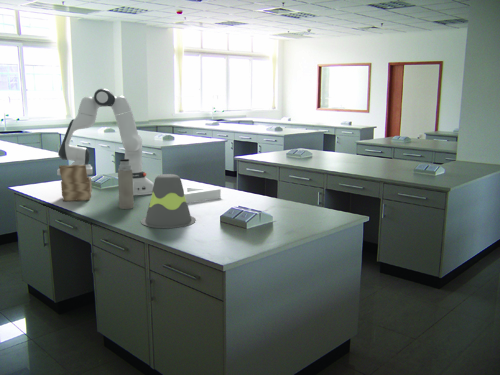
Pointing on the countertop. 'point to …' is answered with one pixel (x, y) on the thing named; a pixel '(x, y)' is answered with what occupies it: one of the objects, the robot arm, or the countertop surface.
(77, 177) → the carton flap
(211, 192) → the triangular ruler
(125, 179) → the thermos bottle
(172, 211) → the grey tapered cylinder
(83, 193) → the carton
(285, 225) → the countertop surface
